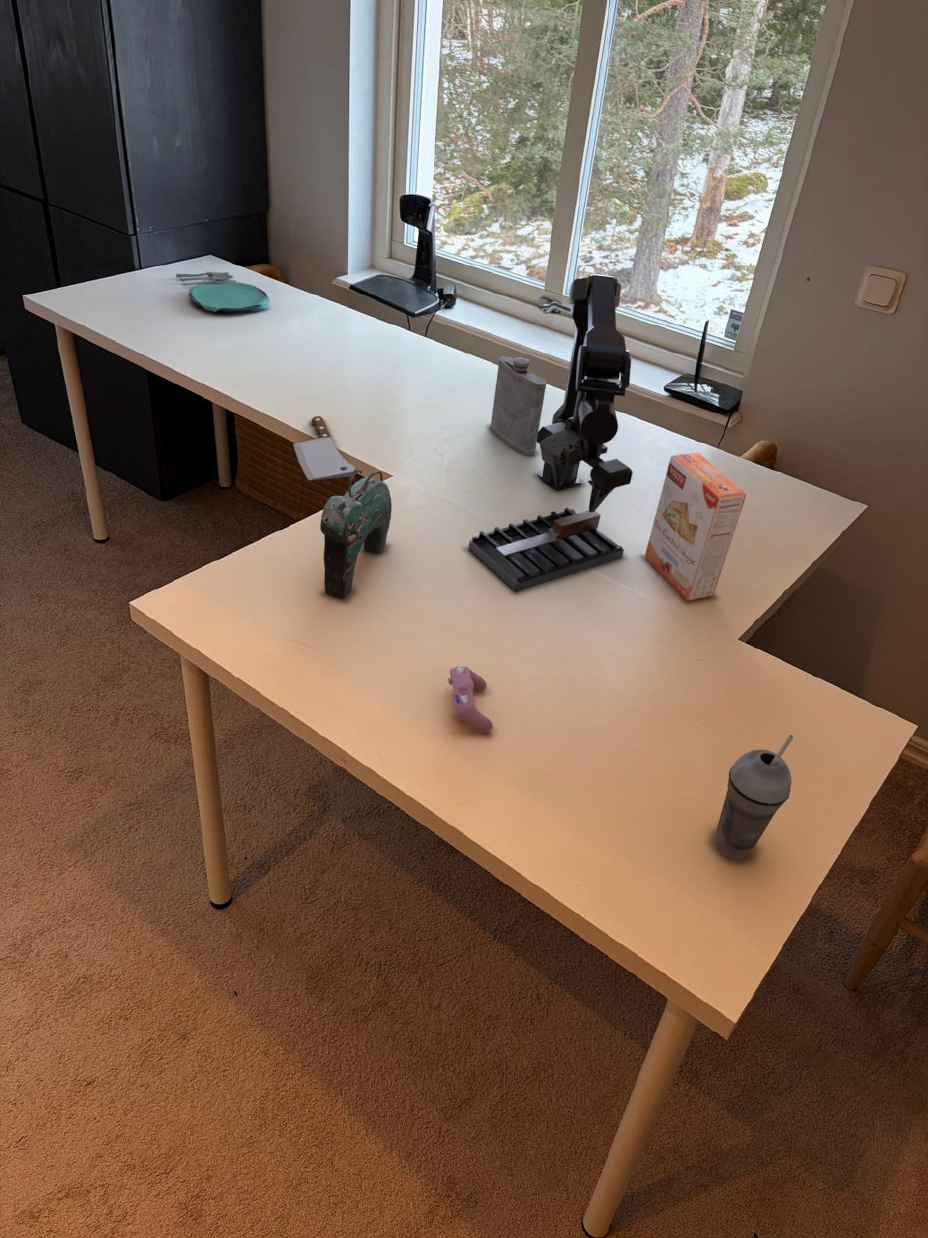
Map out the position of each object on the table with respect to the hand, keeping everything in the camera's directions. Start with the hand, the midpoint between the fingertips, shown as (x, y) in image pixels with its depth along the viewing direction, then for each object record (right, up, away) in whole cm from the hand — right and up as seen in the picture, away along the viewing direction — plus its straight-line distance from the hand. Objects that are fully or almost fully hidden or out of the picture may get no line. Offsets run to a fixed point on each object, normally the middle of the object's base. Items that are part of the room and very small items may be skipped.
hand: (574, 498), depth 164 cm
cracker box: (+18, -14, +2) cm, 23 cm away
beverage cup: (+15, -49, -45) cm, 68 cm away
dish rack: (-5, -9, +4) cm, 11 cm away
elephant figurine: (-37, -13, -6) cm, 40 cm away
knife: (-4, -7, +2) cm, 8 cm away
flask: (-9, +17, +37) cm, 42 cm away
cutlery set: (-83, +64, +86) cm, 136 cm away
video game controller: (-19, -34, -30) cm, 49 cm away
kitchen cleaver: (-48, +13, +26) cm, 56 cm away
